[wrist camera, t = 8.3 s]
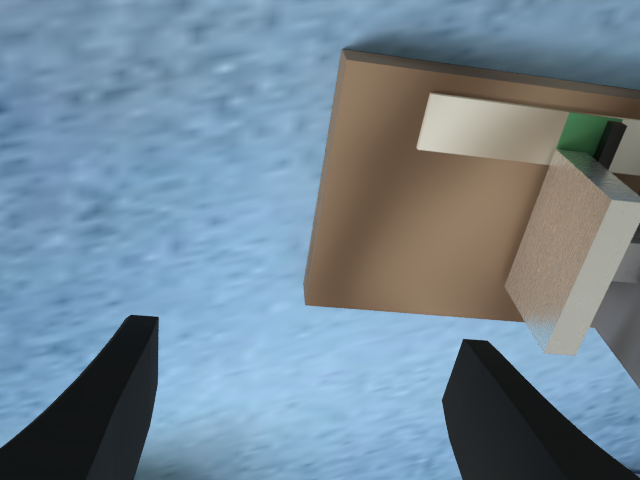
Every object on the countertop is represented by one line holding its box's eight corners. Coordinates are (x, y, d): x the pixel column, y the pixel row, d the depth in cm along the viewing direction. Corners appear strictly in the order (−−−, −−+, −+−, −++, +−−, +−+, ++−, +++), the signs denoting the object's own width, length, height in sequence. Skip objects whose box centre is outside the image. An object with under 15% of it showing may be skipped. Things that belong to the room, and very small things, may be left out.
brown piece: (840, 118, 23) (1020, 190, 18) (717, 318, 28) (827, 424, 22) (342, 49, 20) (368, 108, 15) (303, 284, 25) (312, 394, 20)
